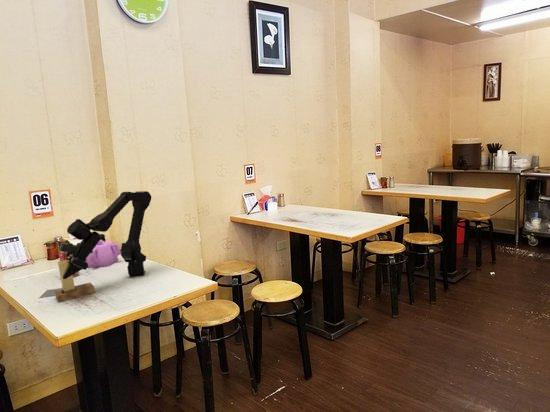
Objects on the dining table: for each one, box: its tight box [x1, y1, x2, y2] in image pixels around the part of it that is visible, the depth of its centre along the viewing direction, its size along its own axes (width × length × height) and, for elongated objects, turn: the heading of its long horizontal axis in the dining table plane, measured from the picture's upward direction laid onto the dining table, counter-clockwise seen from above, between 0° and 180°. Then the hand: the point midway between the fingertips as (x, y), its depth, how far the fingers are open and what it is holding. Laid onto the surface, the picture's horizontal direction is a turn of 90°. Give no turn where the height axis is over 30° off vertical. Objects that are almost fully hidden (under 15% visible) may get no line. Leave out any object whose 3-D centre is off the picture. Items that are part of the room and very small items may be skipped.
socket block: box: [55, 281, 96, 303], centre depth 171 cm, size 14×8×3 cm, turn 124°
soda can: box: [58, 250, 80, 278], centre depth 198 cm, size 7×7×13 cm
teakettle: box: [86, 240, 121, 269], centre depth 217 cm, size 17×17×12 cm
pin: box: [57, 259, 76, 293], centre depth 168 cm, size 4×4×13 cm
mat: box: [38, 287, 63, 299], centre depth 177 cm, size 10×10×1 cm
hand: (62, 277), depth 168 cm, fingers closed on pin, 4 cm apart
